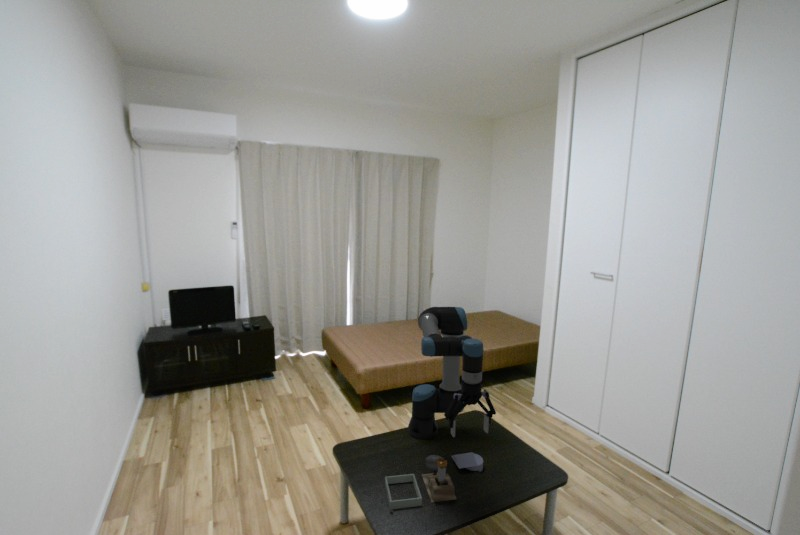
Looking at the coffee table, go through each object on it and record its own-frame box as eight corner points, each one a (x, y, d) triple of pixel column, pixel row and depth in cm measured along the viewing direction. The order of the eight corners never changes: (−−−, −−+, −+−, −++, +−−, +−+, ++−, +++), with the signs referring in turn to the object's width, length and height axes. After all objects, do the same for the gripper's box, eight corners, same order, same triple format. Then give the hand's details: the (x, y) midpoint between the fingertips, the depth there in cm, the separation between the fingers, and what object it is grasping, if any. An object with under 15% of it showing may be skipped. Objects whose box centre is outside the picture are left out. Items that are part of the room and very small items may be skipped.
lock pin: (434, 490, 147) (435, 459, 145) (444, 489, 148) (445, 458, 146) (437, 497, 143) (438, 465, 142) (447, 496, 144) (448, 464, 142)
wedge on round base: (458, 476, 157) (486, 471, 160) (459, 461, 156) (487, 456, 160) (450, 462, 166) (477, 458, 169) (451, 448, 165) (477, 444, 168)
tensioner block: (420, 475, 157) (421, 454, 156) (443, 472, 159) (444, 452, 158) (431, 504, 141) (432, 482, 140) (456, 501, 142) (457, 479, 141)
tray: (384, 485, 150) (384, 476, 150) (413, 482, 153) (413, 473, 152) (390, 511, 137) (390, 502, 136) (421, 507, 139) (421, 498, 138)
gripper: (443, 387, 134) (441, 442, 136) (506, 382, 139) (503, 435, 142) (437, 378, 141) (435, 431, 144) (497, 374, 146) (494, 424, 149)
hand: (469, 433), depth 143 cm, fingers open, 13 cm apart
